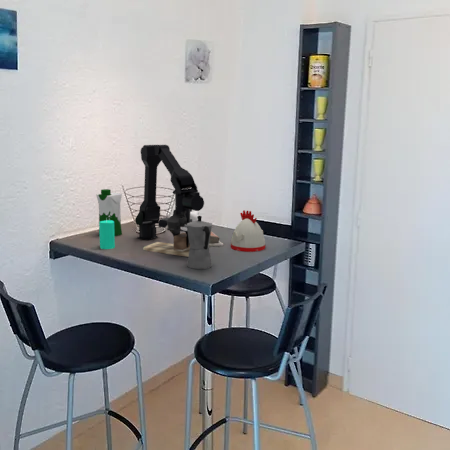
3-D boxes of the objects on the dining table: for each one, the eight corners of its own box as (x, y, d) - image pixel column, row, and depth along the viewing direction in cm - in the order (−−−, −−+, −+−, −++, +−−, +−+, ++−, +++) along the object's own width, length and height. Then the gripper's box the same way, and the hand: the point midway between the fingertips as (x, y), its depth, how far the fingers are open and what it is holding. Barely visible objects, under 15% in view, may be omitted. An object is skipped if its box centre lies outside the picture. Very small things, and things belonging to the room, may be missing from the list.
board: (143, 250, 217) (143, 247, 217) (157, 244, 226) (157, 241, 226) (188, 256, 209) (188, 253, 208) (200, 250, 217) (200, 247, 217)
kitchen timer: (247, 241, 233) (248, 206, 230) (272, 247, 224) (273, 211, 221) (223, 247, 224) (224, 210, 221) (248, 253, 214) (249, 215, 211)
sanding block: (173, 250, 213) (173, 236, 212) (182, 246, 219) (182, 232, 218) (182, 251, 211) (182, 237, 210) (191, 247, 217) (191, 233, 216)
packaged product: (189, 227, 238) (211, 226, 241) (189, 238, 239) (211, 237, 242) (200, 236, 222) (224, 235, 225) (200, 248, 223) (223, 247, 226)
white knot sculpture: (180, 233, 247) (180, 213, 245) (172, 227, 258) (172, 208, 256) (204, 231, 251) (204, 211, 249) (196, 226, 262) (196, 207, 260)
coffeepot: (180, 262, 202) (180, 213, 198) (205, 259, 205) (205, 211, 201) (195, 273, 188) (195, 221, 184) (220, 271, 191) (221, 219, 187)
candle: (102, 249, 217) (101, 219, 214) (97, 246, 222) (96, 216, 219) (117, 248, 219) (116, 218, 217) (112, 244, 225) (111, 215, 222)
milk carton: (95, 235, 240) (94, 189, 236) (110, 231, 248) (109, 187, 243) (110, 238, 236) (109, 191, 231) (125, 234, 243) (124, 189, 239)
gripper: (150, 207, 208) (150, 248, 212) (194, 212, 200) (194, 254, 204) (166, 203, 218) (166, 241, 221) (208, 207, 210) (207, 247, 214)
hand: (182, 246), depth 215 cm, fingers closed on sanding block, 4 cm apart
